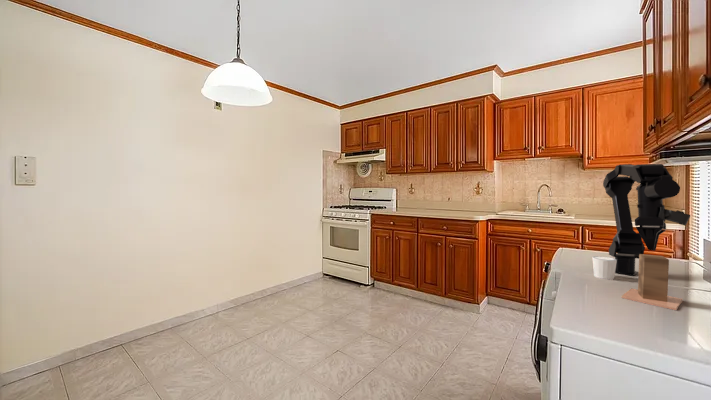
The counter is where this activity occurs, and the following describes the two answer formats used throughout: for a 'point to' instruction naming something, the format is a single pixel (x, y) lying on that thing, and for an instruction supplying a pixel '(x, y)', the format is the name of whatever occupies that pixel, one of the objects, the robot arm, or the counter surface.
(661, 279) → the walnut block
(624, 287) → the counter surface
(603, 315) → the counter surface
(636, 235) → the robot arm
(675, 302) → the terracotta tile
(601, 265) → the white cup
